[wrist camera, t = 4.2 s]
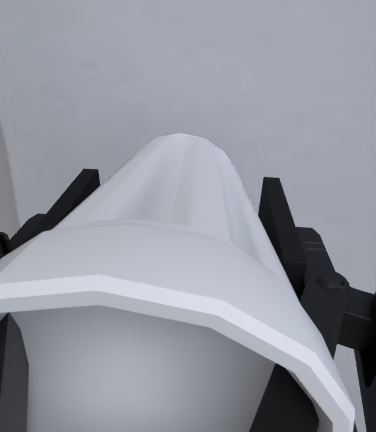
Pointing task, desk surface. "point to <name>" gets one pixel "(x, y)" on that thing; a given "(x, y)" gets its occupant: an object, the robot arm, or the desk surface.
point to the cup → (163, 305)
